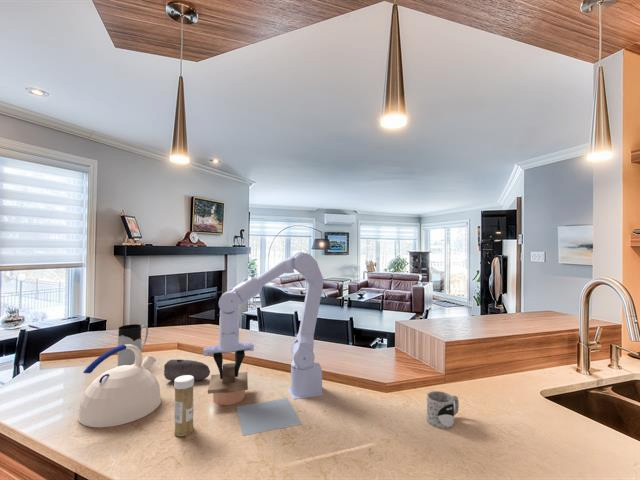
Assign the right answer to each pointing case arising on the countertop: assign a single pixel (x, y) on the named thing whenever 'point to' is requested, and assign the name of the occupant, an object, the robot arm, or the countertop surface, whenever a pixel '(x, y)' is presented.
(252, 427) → the rubber mat
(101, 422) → the kettle
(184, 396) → the sprinkles bottle
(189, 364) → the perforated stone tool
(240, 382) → the cover board
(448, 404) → the mug
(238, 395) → the terracotta bowl
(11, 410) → the countertop surface
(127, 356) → the gray black pitcher
